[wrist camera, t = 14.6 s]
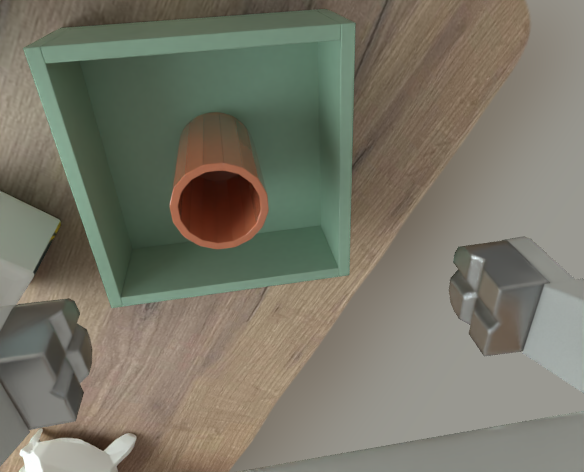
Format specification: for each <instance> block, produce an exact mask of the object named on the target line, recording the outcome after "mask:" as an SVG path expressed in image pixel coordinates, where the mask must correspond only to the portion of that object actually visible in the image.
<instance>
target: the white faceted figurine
mask: <svg viewBox="0 0 584 472" xmlns="http://www.w3.org/2000/svg"><path fill="white" fill-rule="evenodd" d="M42 432H43V429H42V428H40V429H39V430H38V431H37V432H36V434H34V436H33V437H32V438H31V440H30V442H29V443H28V444H27V445H26V446H24V447H23V448H22V449H21V451H20V456H22V457H23V459H24V463H25V465H24V466H23V467H22V468H21V469H20V470H19V472H118V470H117V465H118V464H119V463H120V462H121V461H122V460H123V459H124V458H125V457H126V456H127V455H128V454H129V453H130V452H131V451H132V449H133V447H134V445H135V442H136V439H137V437H136V435H134V434H132V433H127V434H124V435H122V436H120V438H118V439H116V440H115V441H114V442H112V444H110V445H109V446H108V447H107V448H106V449H105V450H104V451H102V450H100V449H98V448H97V447H95V446H93V445H90V444H89V443H87V442H84V441H83V440H81V439H78V438H76V439H73V438H58V439H54V440H53V439H52V440H49V441H43V442H41V441H40V440H39V438H40V437H41V434H42Z"/></svg>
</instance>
